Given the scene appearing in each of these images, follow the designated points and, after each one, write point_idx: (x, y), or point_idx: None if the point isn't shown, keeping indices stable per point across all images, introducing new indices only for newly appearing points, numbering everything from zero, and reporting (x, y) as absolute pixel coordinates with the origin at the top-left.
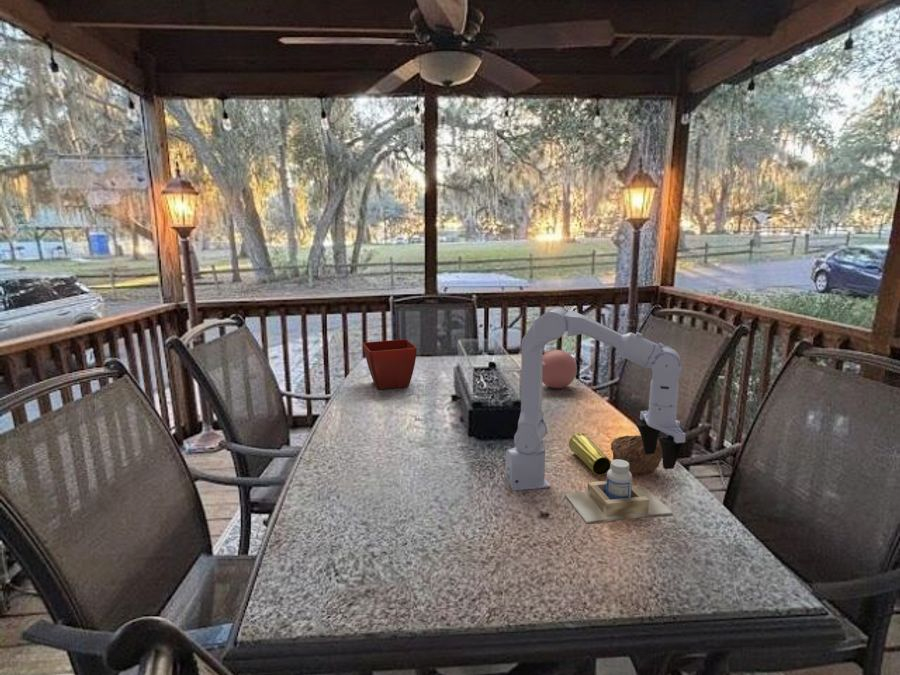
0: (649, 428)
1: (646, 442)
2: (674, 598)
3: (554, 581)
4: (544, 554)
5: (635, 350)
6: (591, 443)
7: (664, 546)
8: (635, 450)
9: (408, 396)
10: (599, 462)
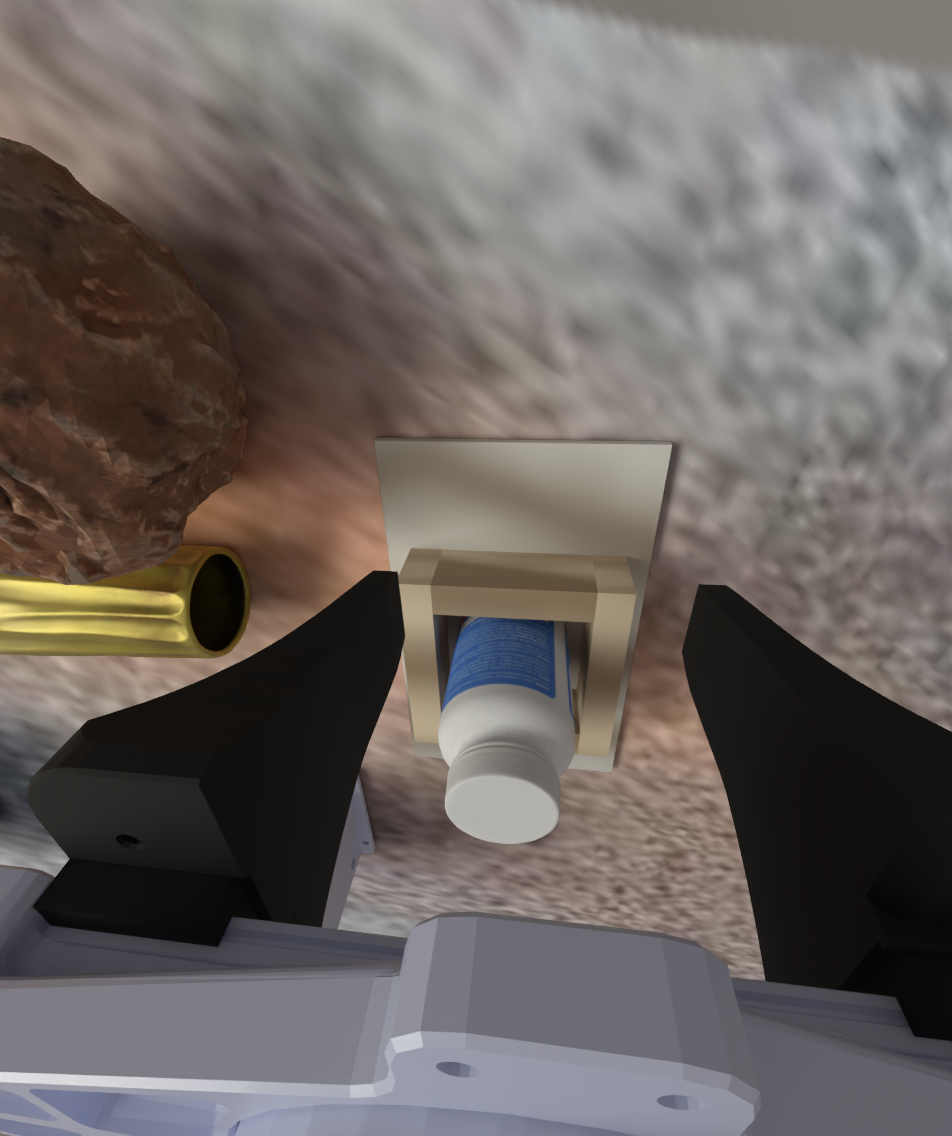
0: (295, 866)
1: (368, 722)
2: None
3: None
4: (713, 887)
5: None
6: (12, 620)
7: (870, 621)
8: (137, 491)
9: None
10: None
